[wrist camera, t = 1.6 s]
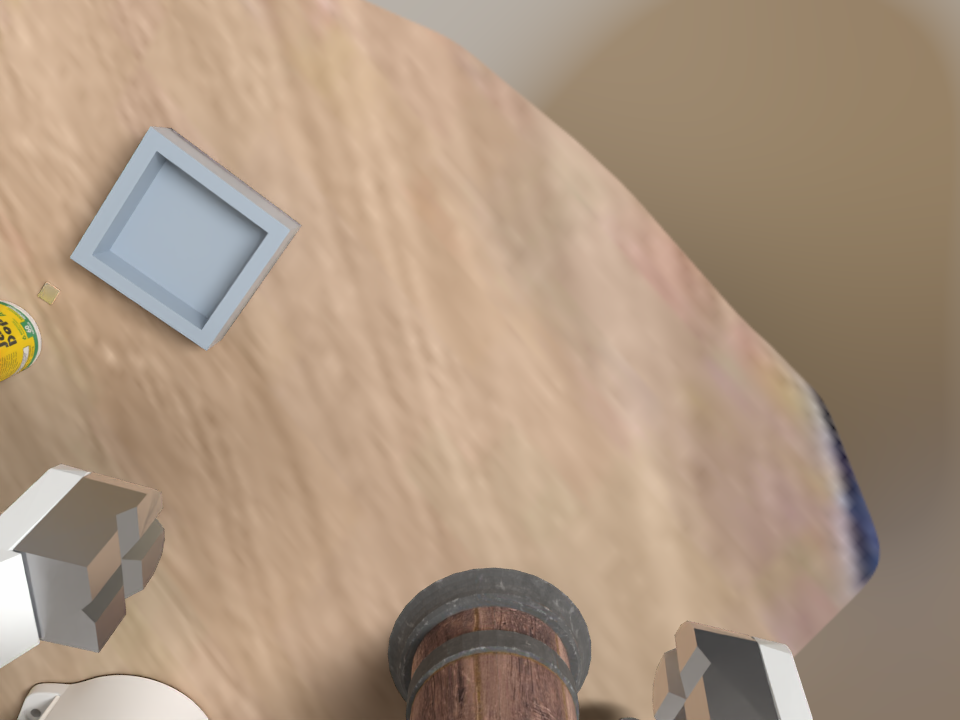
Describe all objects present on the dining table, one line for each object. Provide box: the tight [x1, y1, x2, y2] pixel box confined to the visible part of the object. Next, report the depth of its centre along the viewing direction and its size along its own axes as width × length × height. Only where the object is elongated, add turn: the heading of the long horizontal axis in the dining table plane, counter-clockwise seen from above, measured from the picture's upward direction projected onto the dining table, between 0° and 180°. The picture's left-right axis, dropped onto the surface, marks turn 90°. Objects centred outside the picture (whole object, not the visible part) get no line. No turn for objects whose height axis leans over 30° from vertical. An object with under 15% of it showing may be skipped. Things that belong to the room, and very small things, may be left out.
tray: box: [70, 127, 302, 351], centre depth 44 cm, size 10×10×3 cm
